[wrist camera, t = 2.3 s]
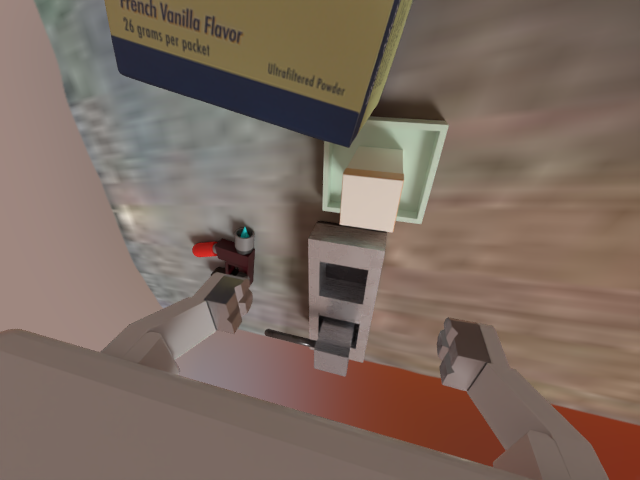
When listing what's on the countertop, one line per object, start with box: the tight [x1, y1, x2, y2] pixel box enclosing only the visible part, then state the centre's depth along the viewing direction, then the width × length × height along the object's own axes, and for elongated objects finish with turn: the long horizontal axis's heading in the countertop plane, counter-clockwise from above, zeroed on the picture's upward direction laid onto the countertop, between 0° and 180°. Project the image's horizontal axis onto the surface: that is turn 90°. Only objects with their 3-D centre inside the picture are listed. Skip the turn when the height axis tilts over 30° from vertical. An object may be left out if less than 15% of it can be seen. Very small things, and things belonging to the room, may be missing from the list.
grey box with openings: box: [265, 221, 387, 376], centre depth 32 cm, size 14×20×8 cm
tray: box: [322, 116, 449, 224], centre depth 24 cm, size 10×9×2 cm
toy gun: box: [192, 227, 255, 285], centre depth 36 cm, size 10×12×5 cm
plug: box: [339, 146, 404, 232], centre depth 22 cm, size 4×4×8 cm
